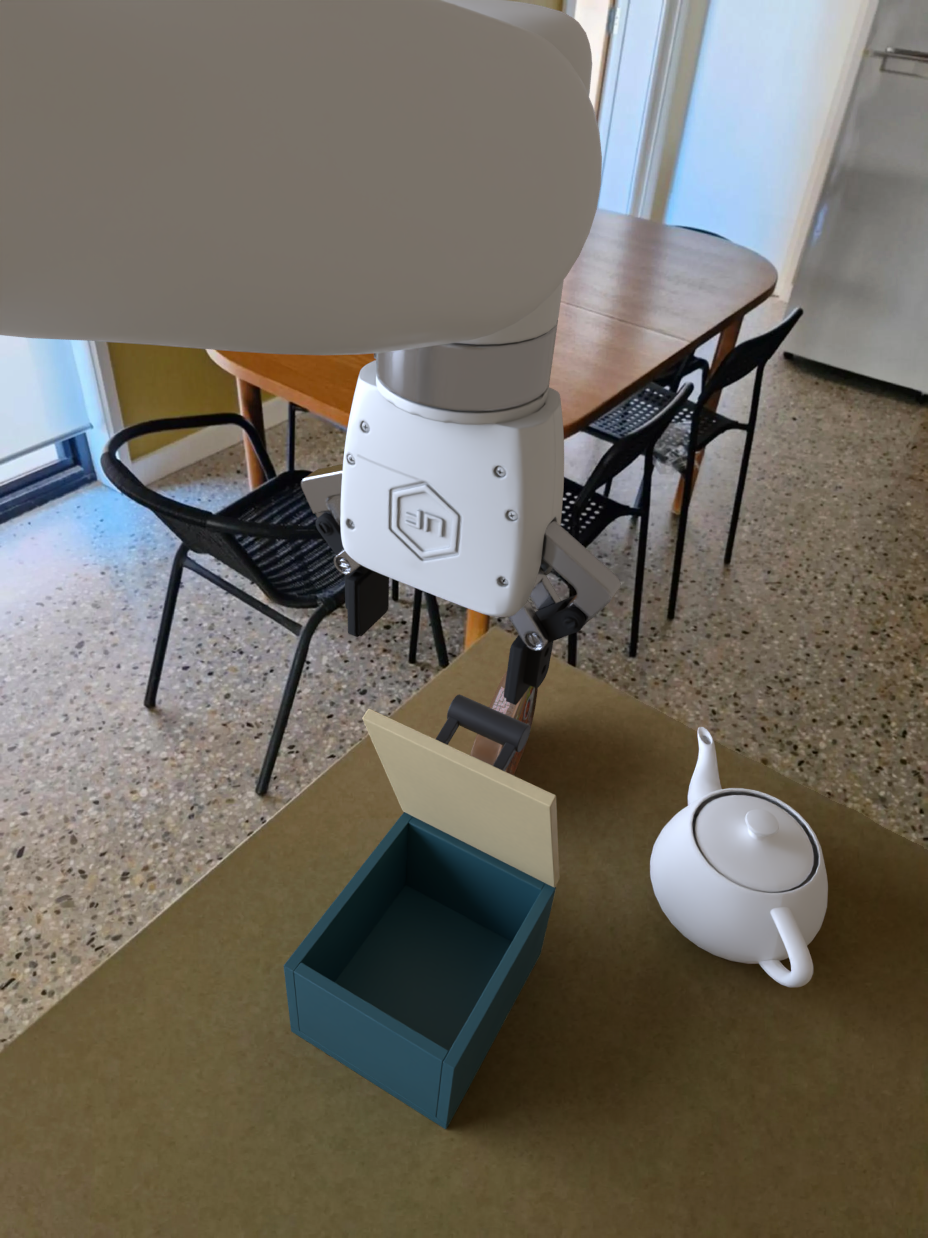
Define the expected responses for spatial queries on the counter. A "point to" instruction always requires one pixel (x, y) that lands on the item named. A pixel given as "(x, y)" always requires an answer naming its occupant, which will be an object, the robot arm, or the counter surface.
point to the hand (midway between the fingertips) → (442, 654)
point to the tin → (521, 711)
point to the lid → (472, 787)
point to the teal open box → (418, 965)
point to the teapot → (741, 874)
